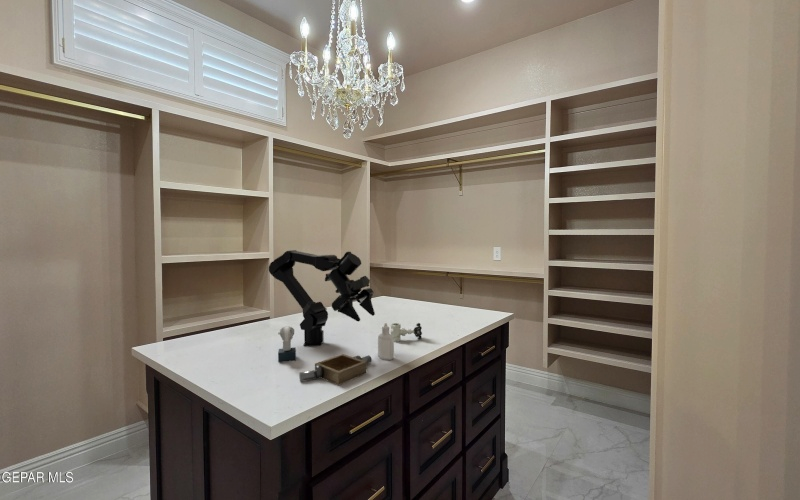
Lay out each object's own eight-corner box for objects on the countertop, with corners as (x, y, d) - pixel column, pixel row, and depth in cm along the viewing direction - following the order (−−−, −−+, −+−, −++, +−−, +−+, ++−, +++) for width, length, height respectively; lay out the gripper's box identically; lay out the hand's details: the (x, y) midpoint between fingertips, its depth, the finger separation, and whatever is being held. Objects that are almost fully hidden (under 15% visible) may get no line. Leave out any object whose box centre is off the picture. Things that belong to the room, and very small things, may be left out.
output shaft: (320, 375, 105) (320, 363, 105) (322, 379, 102) (322, 367, 101) (299, 378, 102) (298, 366, 102) (300, 383, 99) (300, 371, 99)
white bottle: (383, 361, 116) (383, 326, 115) (376, 356, 121) (376, 322, 120) (395, 359, 118) (395, 324, 117) (388, 354, 123) (388, 320, 122)
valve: (391, 343, 135) (422, 341, 137) (391, 326, 134) (422, 325, 137) (389, 338, 141) (418, 336, 143) (389, 322, 141) (418, 321, 143)
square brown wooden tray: (338, 385, 98) (338, 373, 98) (314, 375, 105) (314, 363, 105) (366, 373, 106) (366, 361, 106) (342, 364, 113) (342, 353, 113)
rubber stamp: (295, 354, 123) (295, 323, 122) (295, 362, 115) (295, 329, 115) (279, 355, 121) (278, 324, 121) (277, 364, 114) (277, 331, 113)
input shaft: (359, 369, 109) (359, 358, 109) (351, 366, 111) (351, 355, 111) (373, 363, 114) (373, 353, 114) (365, 361, 116) (365, 350, 116)
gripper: (339, 271, 115) (366, 309, 111) (370, 266, 132) (394, 299, 127) (320, 292, 120) (345, 329, 115) (352, 284, 136) (375, 317, 132)
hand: (366, 317), depth 122 cm, fingers open, 9 cm apart
